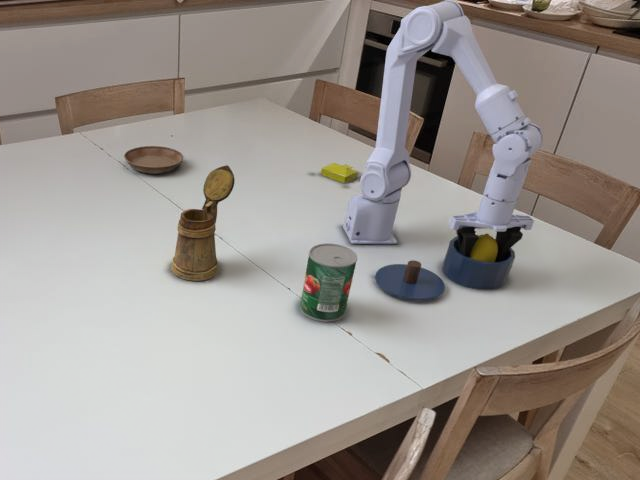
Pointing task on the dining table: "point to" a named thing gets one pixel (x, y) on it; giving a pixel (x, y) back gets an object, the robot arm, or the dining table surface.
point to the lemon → (485, 249)
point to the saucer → (153, 159)
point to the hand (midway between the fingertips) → (477, 262)
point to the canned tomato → (327, 282)
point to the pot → (476, 269)
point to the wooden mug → (201, 230)
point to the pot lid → (410, 281)
